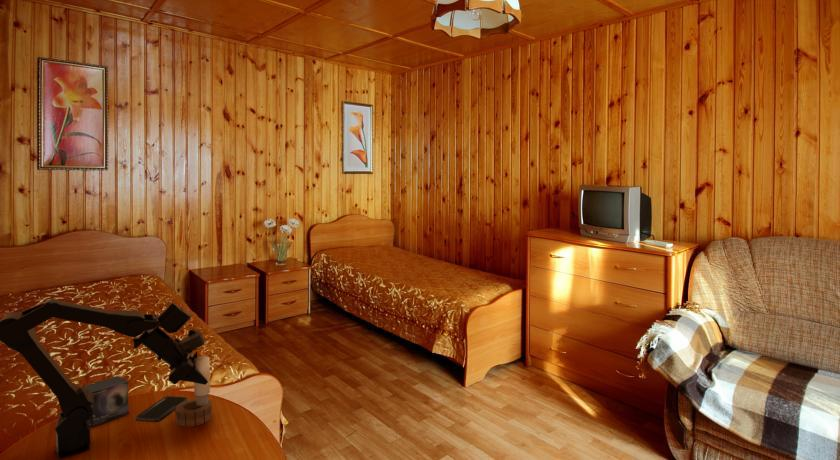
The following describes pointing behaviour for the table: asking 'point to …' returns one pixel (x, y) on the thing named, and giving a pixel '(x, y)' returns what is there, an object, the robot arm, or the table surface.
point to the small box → (109, 400)
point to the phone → (160, 409)
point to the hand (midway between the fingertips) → (207, 380)
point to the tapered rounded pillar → (201, 389)
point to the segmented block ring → (192, 413)
